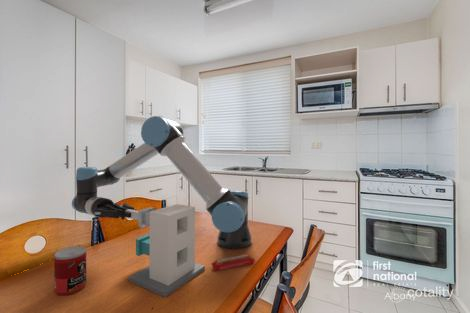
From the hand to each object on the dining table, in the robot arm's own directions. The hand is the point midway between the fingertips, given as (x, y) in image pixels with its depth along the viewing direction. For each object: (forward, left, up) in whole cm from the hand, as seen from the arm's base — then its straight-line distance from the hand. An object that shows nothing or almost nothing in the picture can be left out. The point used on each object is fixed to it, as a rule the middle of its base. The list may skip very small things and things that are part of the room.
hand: (138, 215), depth 84 cm
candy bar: (-34, -3, -18) cm, 38 cm away
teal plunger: (-8, +3, -13) cm, 15 cm away
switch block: (-13, +6, -17) cm, 23 cm away
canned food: (+13, +16, -18) cm, 27 cm away
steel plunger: (-9, +4, -3) cm, 10 cm away
